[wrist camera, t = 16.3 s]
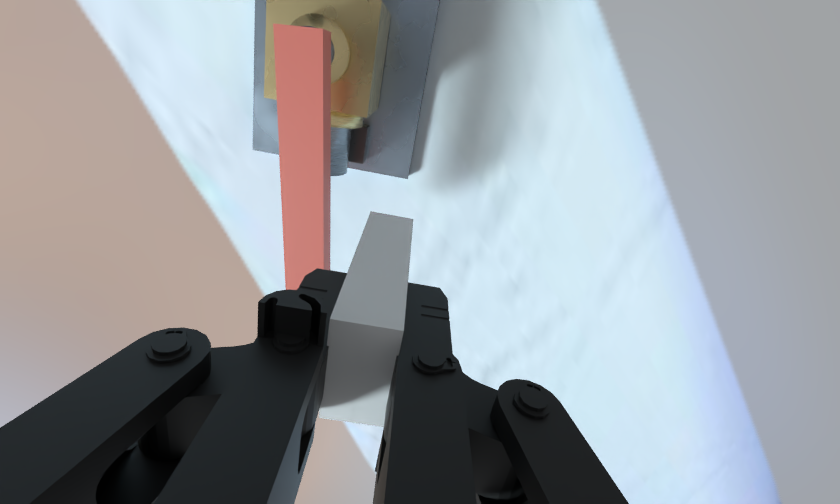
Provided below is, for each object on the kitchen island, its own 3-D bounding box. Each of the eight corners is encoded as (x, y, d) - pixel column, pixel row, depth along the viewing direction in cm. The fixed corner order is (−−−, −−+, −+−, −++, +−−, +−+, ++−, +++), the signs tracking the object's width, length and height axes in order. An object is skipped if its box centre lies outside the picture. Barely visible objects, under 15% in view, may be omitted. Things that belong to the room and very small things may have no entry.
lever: (293, 25, 24) (272, 19, 21) (336, 30, 24) (322, 24, 21) (300, 277, 31) (286, 301, 28) (334, 280, 31) (323, 304, 28)
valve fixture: (263, -98, 30) (195, -168, 21) (449, -56, 30) (458, -106, 22) (257, 147, 37) (206, 170, 28) (408, 175, 38) (402, 207, 29)
